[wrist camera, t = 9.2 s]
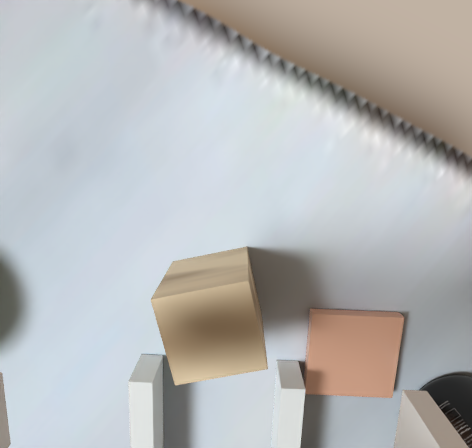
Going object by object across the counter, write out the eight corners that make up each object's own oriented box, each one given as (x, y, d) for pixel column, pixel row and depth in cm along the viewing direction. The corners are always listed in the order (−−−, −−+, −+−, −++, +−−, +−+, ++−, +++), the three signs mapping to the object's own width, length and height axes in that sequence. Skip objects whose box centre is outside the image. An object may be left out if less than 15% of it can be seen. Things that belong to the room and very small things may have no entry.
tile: (387, 390, 26) (392, 397, 25) (303, 386, 26) (305, 394, 25) (399, 312, 24) (404, 317, 24) (310, 308, 25) (312, 313, 24)
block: (261, 315, 25) (267, 368, 19) (190, 328, 25) (175, 385, 19) (246, 246, 24) (248, 280, 18) (173, 261, 24) (150, 299, 18)
